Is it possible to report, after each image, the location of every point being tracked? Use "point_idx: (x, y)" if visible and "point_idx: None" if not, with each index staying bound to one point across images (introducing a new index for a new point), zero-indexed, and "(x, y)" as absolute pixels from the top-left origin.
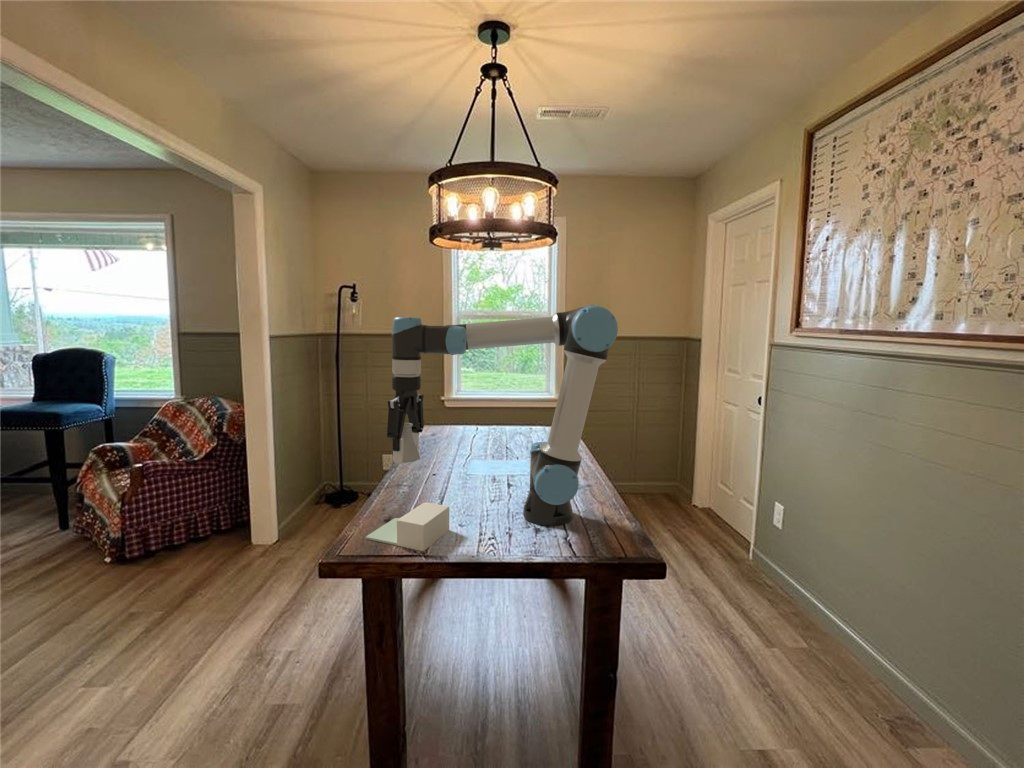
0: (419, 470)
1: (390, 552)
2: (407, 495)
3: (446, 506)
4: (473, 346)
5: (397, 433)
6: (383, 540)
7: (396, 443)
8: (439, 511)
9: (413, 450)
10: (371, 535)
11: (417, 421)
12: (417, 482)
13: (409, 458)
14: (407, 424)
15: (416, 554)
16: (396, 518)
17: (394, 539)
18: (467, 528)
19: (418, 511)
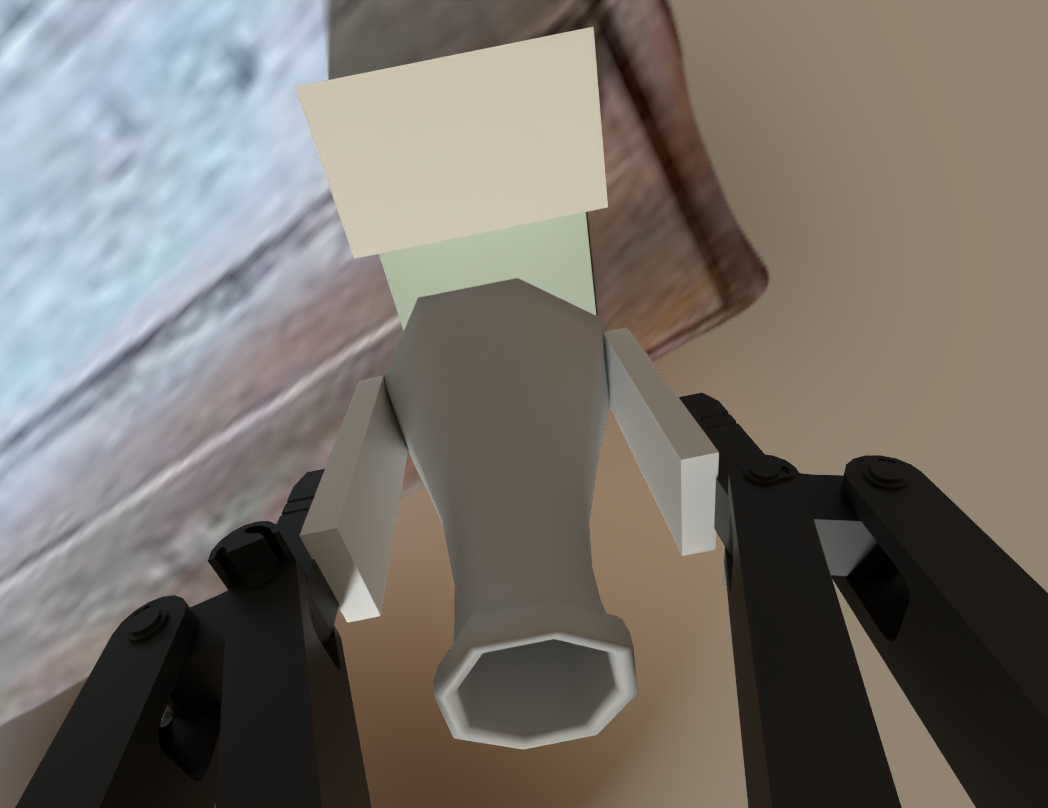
0: (17, 628)
1: (637, 166)
2: (225, 489)
3: (309, 101)
4: None
5: (875, 506)
6: (589, 254)
7: (749, 447)
8: (393, 84)
9: (502, 353)
10: None
11: (268, 710)
12: (104, 552)
13: (559, 319)
14: (470, 698)
15: (603, 49)
16: None
17: (562, 224)
18: (243, 7)
19: (467, 193)
